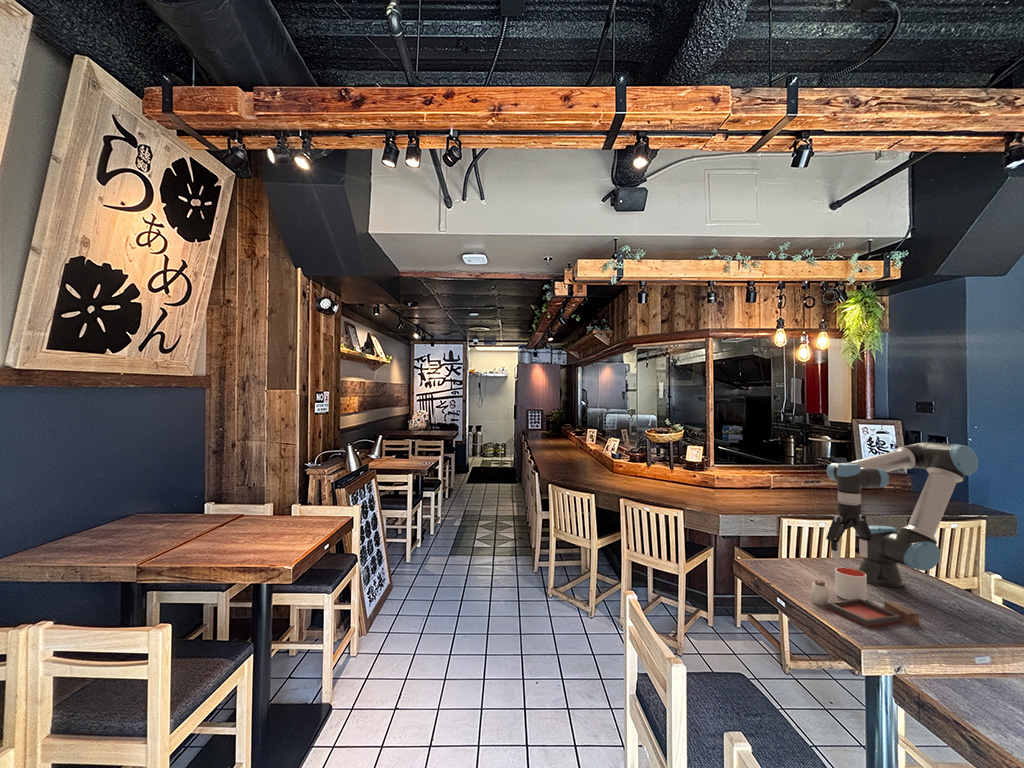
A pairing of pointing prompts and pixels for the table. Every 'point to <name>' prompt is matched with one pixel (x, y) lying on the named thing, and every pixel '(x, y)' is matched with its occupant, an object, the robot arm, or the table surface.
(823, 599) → the ceramic jar
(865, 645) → the table surface
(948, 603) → the table surface
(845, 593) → the cup
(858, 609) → the tray
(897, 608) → the box
